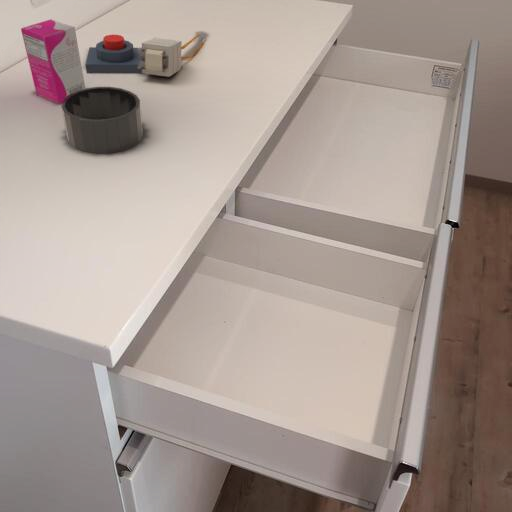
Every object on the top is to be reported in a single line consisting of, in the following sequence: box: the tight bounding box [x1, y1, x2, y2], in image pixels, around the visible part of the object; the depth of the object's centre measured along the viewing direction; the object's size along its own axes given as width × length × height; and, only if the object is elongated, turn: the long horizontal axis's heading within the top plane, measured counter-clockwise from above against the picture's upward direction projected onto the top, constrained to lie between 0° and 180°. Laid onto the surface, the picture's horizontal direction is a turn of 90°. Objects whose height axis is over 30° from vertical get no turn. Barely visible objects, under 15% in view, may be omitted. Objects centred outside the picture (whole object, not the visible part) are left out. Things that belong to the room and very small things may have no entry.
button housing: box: [84, 39, 143, 74], centre depth 100 cm, size 10×8×4 cm
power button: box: [102, 34, 125, 50], centre depth 98 cm, size 4×4×2 cm
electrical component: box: [136, 31, 207, 78], centre depth 103 cm, size 24×6×5 cm, turn 168°
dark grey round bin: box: [61, 86, 144, 155], centre depth 78 cm, size 11×11×6 cm
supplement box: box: [20, 18, 86, 105], centre depth 85 cm, size 6×6×12 cm
